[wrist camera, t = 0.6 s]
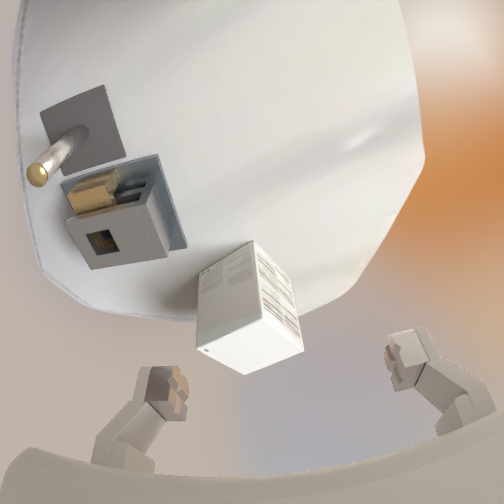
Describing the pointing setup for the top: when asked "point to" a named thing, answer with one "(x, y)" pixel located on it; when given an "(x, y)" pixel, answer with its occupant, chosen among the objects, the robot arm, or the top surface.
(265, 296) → the supplement box
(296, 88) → the top surface
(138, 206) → the grey layered square block
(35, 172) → the pin
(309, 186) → the top surface
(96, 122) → the mat
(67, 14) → the top surface
